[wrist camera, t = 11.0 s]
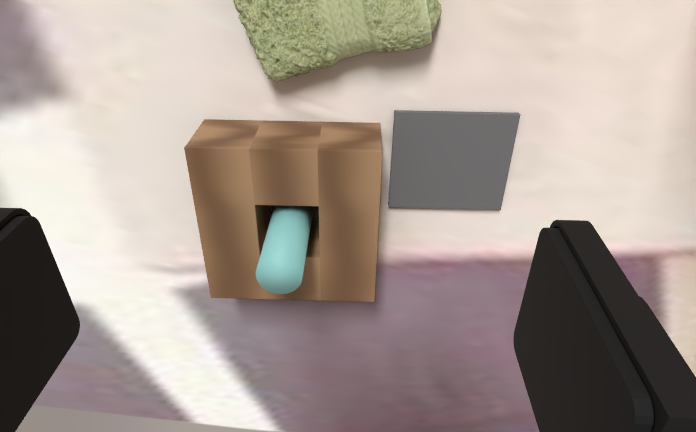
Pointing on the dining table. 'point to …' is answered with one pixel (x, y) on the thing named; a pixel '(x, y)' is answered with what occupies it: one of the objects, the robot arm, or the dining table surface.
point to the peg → (285, 249)
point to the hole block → (288, 202)
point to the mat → (451, 159)
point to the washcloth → (332, 30)
